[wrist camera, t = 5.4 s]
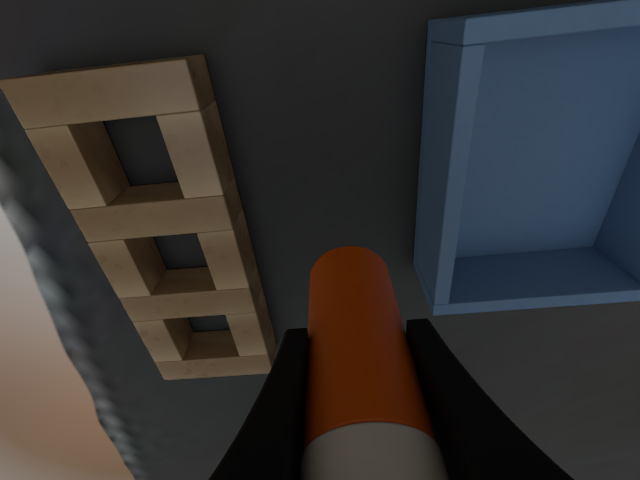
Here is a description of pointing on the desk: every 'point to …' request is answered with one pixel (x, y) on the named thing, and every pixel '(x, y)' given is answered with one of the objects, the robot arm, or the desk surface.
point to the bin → (530, 159)
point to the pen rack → (155, 207)
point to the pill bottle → (362, 379)
